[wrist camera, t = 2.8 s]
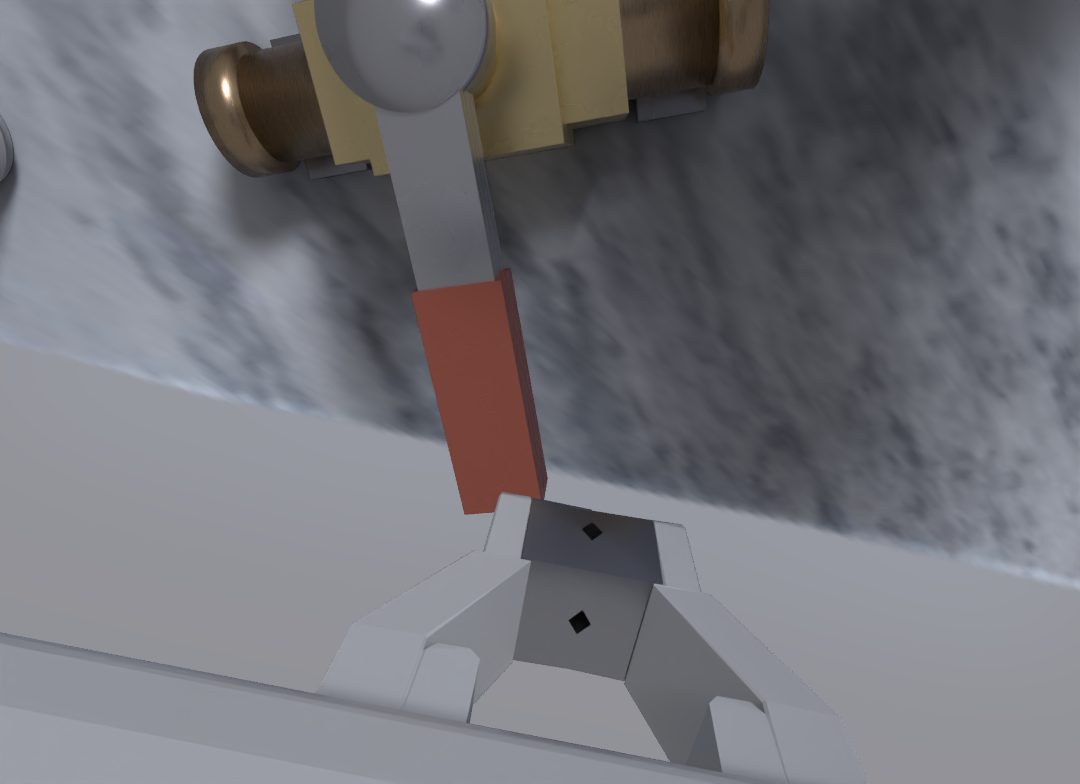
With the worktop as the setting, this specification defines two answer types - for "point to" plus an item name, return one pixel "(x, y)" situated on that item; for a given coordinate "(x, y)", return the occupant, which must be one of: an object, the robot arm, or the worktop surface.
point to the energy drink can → (5, 150)
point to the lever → (447, 225)
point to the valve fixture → (487, 81)
